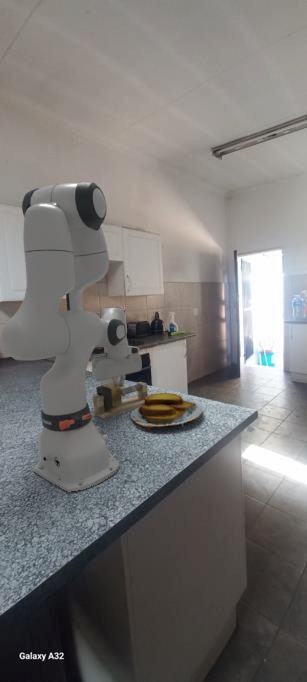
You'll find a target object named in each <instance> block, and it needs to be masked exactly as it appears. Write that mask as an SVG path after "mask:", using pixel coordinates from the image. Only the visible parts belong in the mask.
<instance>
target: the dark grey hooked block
mask: <svg viewBox="0 0 307 682" xmlns="http://www.w3.org/2000/svg"><path fill="white" fill-rule="evenodd" d="M95 388H96V395H104V408H105V409H110V408H112V407H113V404H112V392H111V389H110V388H107V387H105V386H101V385H98V386H96V387H95Z"/></svg>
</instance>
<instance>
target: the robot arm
mask: <svg viewBox="0 0 307 682" xmlns="http://www.w3.org/2000/svg"><path fill="white" fill-rule="evenodd" d="M21 209H22V214H23V219H24V220H23V236H22V237H23V239H22V240H23V251H24V262H25V263H24V264H25V272H26V273H25V275H26V277H25V278H26V289H25V293H24V297H23V300H22V302H21V305H20V306H19V308H18V309H17V311H16V312H15V314H14V315H12V316H11V317H10V318H9V319H8V320H7V321H6V323H5V324H4V326H3V328H2V330H1V343H2V346H3V348H4V351H5V352H6V353H7V355H8V356H9V357H10V358H12V359H14V360H16V361H38V360H39V361H40V360H44V359H48V358H54V357H55V360H54V362H53V365H52V366H51V368H50V369H49V370H48V371H47V372H46V373H45V374H44V375H43V376H42V378H41V379H40V382H39V391H40V398H41V407H42V408H41V411H40V412H41V415H40V418H41V419H40V420H41V425H42V429H41V430H42V431H41V432H40V434H39V436H38V437H37V440H38V441H37V442H38V443H37V444H38V458H39V459H38V462H37V464H36V465H35V466H34V469H33V472H34V473H35V474H37V475H39V476H40V477H42V478H43V479H45V480H46V481H49V482H50V483H52V484H53V485H55V484H56V485H57V486H56V485H55V486H56V487H58V486H59V487H60V488H59V487H58V488H59V489H61V488H62V489H61V490H63V489H64V490H66V491H68V492H67V493H69V492H70V493H72V492H71V491H77V492H79V491H78V490H81V491H83V489H84V490H86V488H87V489H90V488H92V487H94V486H96V485H98V484H100V483H102V482H104V481H106V480H107V479H109V478H110V476H111V477H112V476H113V475H114V474H116V473H117V472H118V471H117V470H119V469H120V468H121V467H120V463H119V461H118V460H117V459H116V458H115V456H114V455H113V454H112V453H111V451H109V449H108V448H109V447H108V443H109V438H108V435H107V434H104V433H103V434H101V431H100V427H99V426H98V425H95V422H94V421H93V420H92V418H93V417H92V410H91V408H90V406H89V402H87V401H88V400H87V391H86V390H87V388H86V387H87V386H86V375H87V367H88V365H89V364H88V363H89V361H90V358H91V356H92V353H93V351H94V350H95V348H102V347H103V349H104V350H103V351H104V353H101V354H95V355H94V356H93V357H92V359H91V367H92V368H91V370H92V371H91V377H92V380H94V381H95V382H101V381H103V380H107V379H110V378H111V379H112V381H113V382H114V383H115V384H116V385H119V386H121V387H123V386H124V387H125V384H124V385H123V382H124V383H125V380H126V375H130V374H133V373H136V372H140V371H142V367H143V364H142V355H141V354H140V352H141V350H140V347H138V346H133V345H130V344H129V341H128V338H127V333H128V328H127V327H128V325H127V318H126V313H125V310H124V308H122V307H119V306H116V307H115V306H108V307H105V308H103V309H102V316H101V318H100V317H99V315H98V314H97V313H96V312H93V311H90V310H84V309H83V308H84V306H83V293H84V291H85V290H86V289H87V288H88V287H90V286H92V285H94V284H96V283H98V282H99V281H101V280H102V279H103V278H104V277H105V276H106V275H107V273H108V271H109V270H110V269H109V268H110V257H109V251H108V247H107V242H106V237H105V234H104V231H103V228H102V225H103V224H104V221H105V218H106V216H107V201H106V197H105V195H104V192H103V191H102V189H101V188H100V186H98V185H97V184H96V183H95V182H92V181H82V180H81V181H79V182H69V183H55V184H49V185H46V186H44V187H41V188H40V187H39V188H34V189H32V190H30V191H28V192H27V193H25V195H24V196H23V199H22V205H21ZM64 296H65V300H66V310H60V303H61V301H62V300H63V298H64ZM118 376H119V377H121V378H120V381H119V382H117V379H118ZM119 467H120V468H119ZM108 477H109V478H108ZM105 479H106V480H105ZM93 485H94V486H93ZM91 486H92V487H91ZM64 490H63V491H64ZM66 491H65V492H66Z"/></svg>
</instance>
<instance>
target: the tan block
mask: <svg viewBox="0 0 307 682" xmlns="http://www.w3.org/2000/svg"><path fill="white" fill-rule="evenodd" d="M102 386H105V387H107V388H110V389H111V392H112V404H113V407H115V406H118V405H121V404H122V400H123V399H122V396H121V386H119V385H116V384H113V383H109V384H105V385H102Z"/></svg>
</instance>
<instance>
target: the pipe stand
mask: <svg viewBox="0 0 307 682" xmlns="http://www.w3.org/2000/svg"><path fill="white" fill-rule="evenodd" d="M135 392H137V394H135V395H133V396H129V397H127V398H123V399H122V404H121V405H118V406H115V407H112V408H110V409H105V408H104V395H97V394H95V395H92V403H93V408H92V409H91V414H94V415H96V416H98V417H100V419H103V420H107V419H108V420H109V419H111V418H113V417H116V416H118V415H121V414H124V413H127V412H129V411H134V410H135V409H136V408H138V407H139V406H141V405H142V404H144V403H145V402H144V399H145V397H147V396H149V395H148V383H146V382H143V381H139V382H136V384H134V385H132V386H128V387H124V389H121V397H122V396H125V395H129V394H132V393H135Z"/></svg>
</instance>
